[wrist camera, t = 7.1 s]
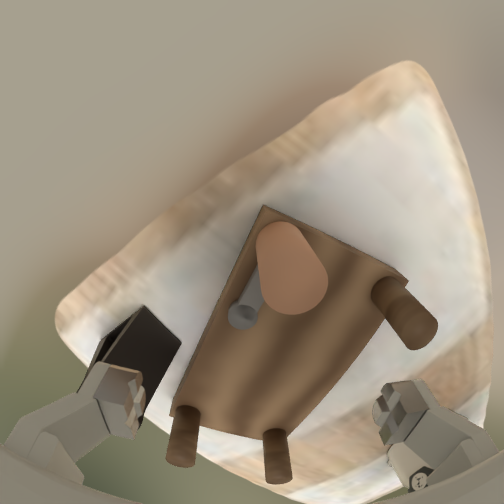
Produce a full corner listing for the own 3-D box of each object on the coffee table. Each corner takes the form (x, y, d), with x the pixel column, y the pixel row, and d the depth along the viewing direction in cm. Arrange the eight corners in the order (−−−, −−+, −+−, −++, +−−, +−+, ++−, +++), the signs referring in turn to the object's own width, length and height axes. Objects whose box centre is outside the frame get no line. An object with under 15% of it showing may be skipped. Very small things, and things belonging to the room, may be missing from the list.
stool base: (395, 269, 29) (449, 319, 19) (278, 427, 37) (285, 486, 27) (263, 204, 26) (275, 238, 16) (172, 399, 34) (158, 462, 24)
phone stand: (144, 304, 29) (103, 381, 18) (182, 342, 31) (160, 425, 20) (100, 339, 31) (59, 408, 19) (134, 371, 32) (106, 444, 21)
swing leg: (256, 330, 27) (260, 386, 19) (216, 314, 26) (208, 369, 19) (312, 234, 24) (340, 270, 16) (269, 213, 23) (281, 241, 16)
